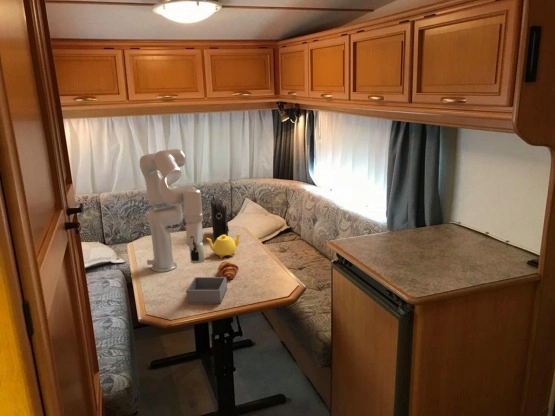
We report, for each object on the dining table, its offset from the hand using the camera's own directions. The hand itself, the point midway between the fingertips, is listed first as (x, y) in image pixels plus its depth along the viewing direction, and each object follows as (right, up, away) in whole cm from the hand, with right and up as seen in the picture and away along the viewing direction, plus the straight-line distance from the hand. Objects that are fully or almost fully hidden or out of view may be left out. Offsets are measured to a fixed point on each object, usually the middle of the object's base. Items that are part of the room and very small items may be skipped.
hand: (197, 257), depth 200 cm
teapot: (+6, -4, +56) cm, 57 cm away
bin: (+4, -18, +4) cm, 18 cm away
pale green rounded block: (0, -2, 0) cm, 2 cm away
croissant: (+11, -12, +29) cm, 33 cm away
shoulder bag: (-1, +3, +87) cm, 87 cm away
